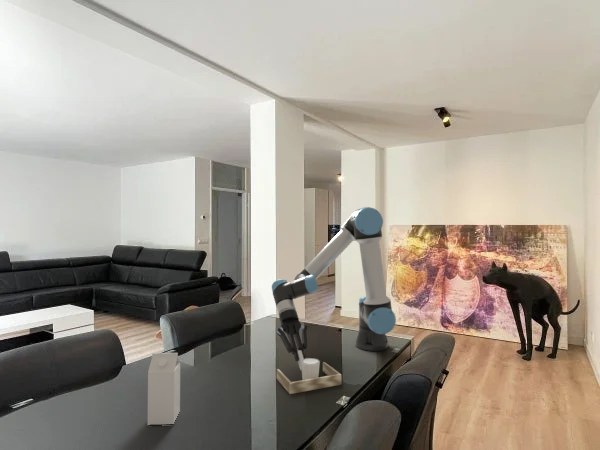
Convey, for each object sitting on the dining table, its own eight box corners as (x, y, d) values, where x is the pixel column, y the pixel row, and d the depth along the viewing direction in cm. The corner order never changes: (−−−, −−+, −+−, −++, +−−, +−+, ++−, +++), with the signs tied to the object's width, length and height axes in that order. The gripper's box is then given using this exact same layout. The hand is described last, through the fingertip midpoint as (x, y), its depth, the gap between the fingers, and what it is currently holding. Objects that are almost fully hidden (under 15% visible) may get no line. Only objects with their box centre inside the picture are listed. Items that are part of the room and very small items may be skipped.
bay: (324, 370, 141) (324, 361, 141) (341, 384, 128) (341, 374, 128) (276, 378, 133) (276, 369, 133) (289, 394, 121) (289, 383, 121)
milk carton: (155, 413, 108) (156, 349, 108) (180, 412, 108) (180, 348, 108) (147, 426, 101) (148, 357, 101) (173, 425, 101) (174, 357, 101)
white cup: (320, 384, 128) (321, 364, 129) (301, 384, 128) (301, 364, 128) (318, 376, 135) (318, 357, 135) (300, 376, 135) (300, 357, 135)
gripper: (299, 317, 155) (315, 370, 139) (270, 319, 150) (284, 375, 134) (304, 307, 150) (322, 361, 135) (274, 309, 145) (289, 366, 130)
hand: (303, 368), depth 135 cm, fingers closed
